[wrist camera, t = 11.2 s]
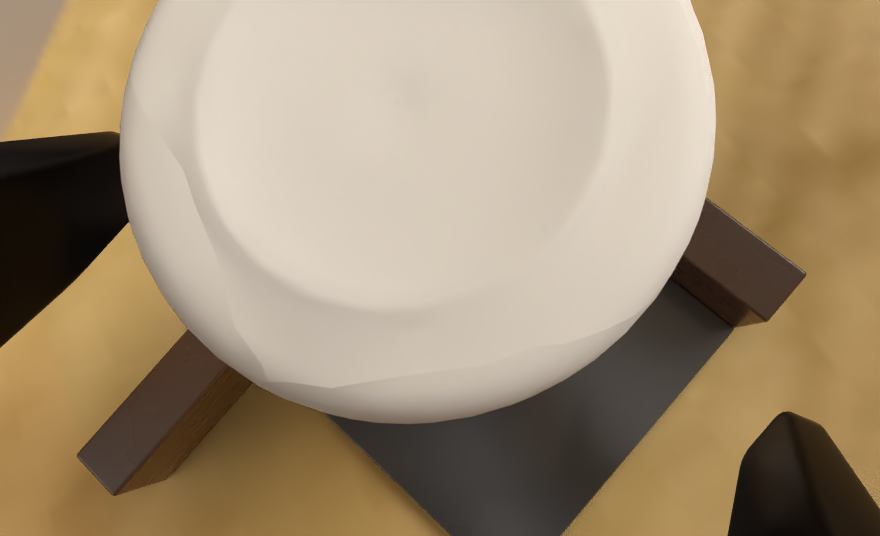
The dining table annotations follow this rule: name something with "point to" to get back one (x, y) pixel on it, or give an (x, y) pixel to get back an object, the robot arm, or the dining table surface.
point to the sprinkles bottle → (415, 188)
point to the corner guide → (502, 430)
